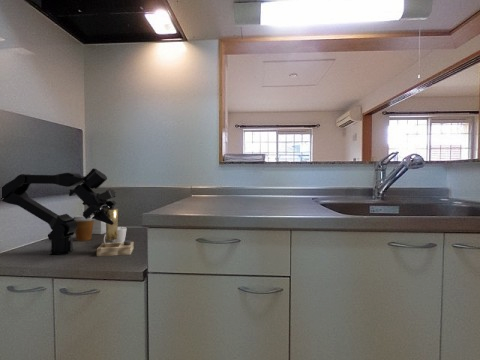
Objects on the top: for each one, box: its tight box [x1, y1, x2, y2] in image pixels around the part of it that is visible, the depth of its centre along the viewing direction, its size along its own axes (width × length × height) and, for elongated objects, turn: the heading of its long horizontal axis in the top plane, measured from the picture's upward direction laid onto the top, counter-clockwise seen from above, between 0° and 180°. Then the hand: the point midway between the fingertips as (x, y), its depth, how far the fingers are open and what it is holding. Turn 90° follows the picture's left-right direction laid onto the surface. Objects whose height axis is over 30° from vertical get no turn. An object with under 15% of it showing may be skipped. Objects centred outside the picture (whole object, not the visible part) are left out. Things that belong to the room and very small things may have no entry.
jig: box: [96, 240, 135, 257], centre depth 110 cm, size 12×9×4 cm
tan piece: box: [105, 208, 119, 241], centre depth 110 cm, size 4×4×12 cm
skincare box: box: [92, 214, 106, 235], centre depth 145 cm, size 8×7×16 cm
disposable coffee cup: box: [73, 214, 94, 242], centre depth 130 cm, size 10×10×12 cm
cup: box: [103, 226, 128, 243], centre depth 119 cm, size 7×10×8 cm
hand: (115, 223), depth 110 cm, fingers closed on tan piece, 4 cm apart
